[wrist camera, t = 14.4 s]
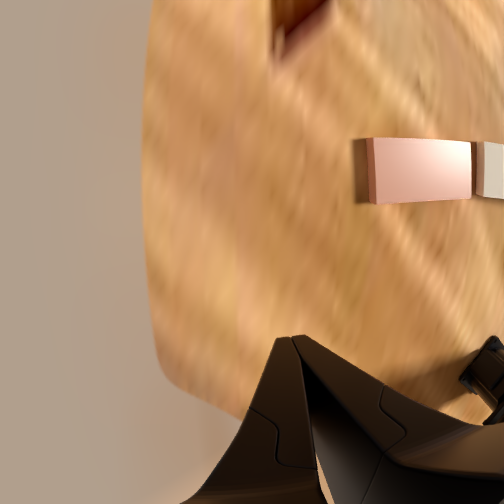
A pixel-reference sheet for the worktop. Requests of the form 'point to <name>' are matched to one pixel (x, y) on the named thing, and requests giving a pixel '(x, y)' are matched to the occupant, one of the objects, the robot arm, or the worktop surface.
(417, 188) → the pink rectangular block
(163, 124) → the worktop surface
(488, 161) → the ivory tile
